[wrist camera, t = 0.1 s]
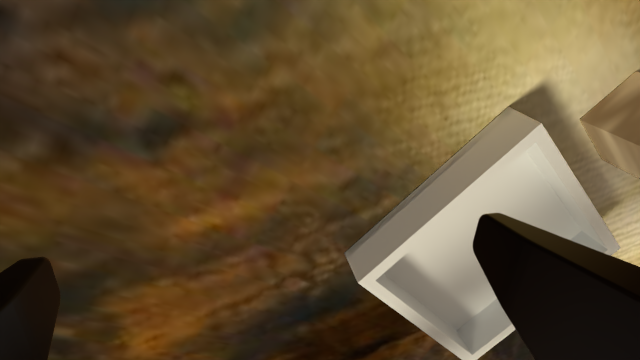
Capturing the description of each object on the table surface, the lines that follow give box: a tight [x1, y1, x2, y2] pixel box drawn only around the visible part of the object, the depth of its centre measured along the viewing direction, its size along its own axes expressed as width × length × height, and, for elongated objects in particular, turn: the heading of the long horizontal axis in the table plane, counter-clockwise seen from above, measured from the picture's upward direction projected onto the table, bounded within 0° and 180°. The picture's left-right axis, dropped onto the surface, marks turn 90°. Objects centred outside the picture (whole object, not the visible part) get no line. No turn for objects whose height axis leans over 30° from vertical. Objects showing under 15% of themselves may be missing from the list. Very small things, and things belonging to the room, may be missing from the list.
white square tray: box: [345, 107, 620, 360], centre depth 29 cm, size 14×14×3 cm
